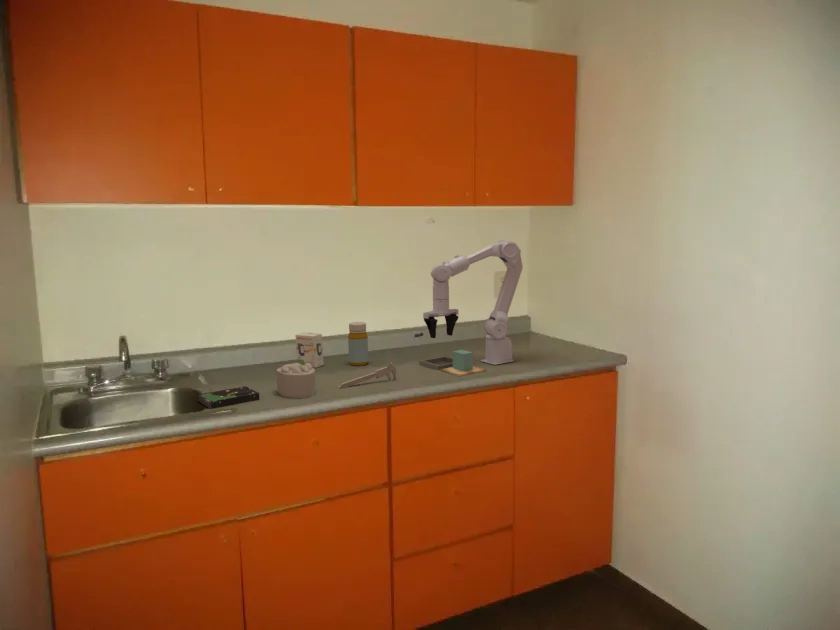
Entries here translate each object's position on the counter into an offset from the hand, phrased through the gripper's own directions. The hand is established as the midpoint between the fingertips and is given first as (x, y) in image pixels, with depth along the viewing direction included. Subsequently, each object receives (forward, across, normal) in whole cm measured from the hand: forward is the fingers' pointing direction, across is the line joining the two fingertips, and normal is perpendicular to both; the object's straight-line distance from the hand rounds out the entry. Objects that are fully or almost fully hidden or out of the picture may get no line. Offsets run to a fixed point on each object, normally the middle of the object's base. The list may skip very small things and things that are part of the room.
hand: (441, 336), depth 230 cm
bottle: (+11, +22, -21) cm, 32 cm away
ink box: (+11, +37, -30) cm, 49 cm away
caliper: (+11, +35, +5) cm, 37 cm away
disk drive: (+11, +77, -4) cm, 78 cm away
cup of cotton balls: (+11, +57, +1) cm, 58 cm away
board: (+10, 0, +12) cm, 16 cm away
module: (+10, 0, +12) cm, 15 cm away
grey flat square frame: (+10, 0, 0) cm, 10 cm away
